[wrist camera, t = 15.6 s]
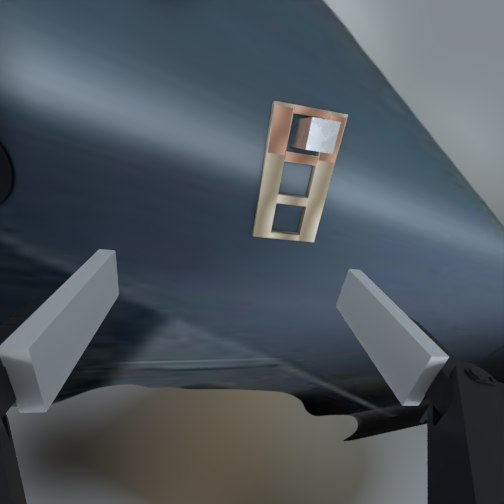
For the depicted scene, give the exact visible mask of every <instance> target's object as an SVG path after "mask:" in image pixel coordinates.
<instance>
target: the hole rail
mask: <svg viewBox="0 0 504 504" xmlns="http://www.w3.org/2000/svg"><path fill="white" fill-rule="evenodd" d="M293 114H296V115H302V116H307V117H316V118H321V119H327V120H332V121H338V122H341V124H340V128H339V132H338V135H337V139H336V143H335V147H334V151H333V154H329V153H323V152H317V151H316V154H315V156H314V155H308V154H302V153H295V152H289V151H286V149H287V144H288V139H289V134H290V128H291V123H292V118H293ZM347 117H348V115H347V114H342V113H336V112H331V111H326V110H320V109H315V108H310V107H305V106H299V105H294V104H289V103H284V102H278V101H273V103H272V109H271V116H270V122H269V129H268V135H267V141H266V148H265V154H264V160H263V167H262V173H261V179H260V186H259V192H258V199H257V205H256V211H255V218H254V224H253V230H252V235H253V236H255V237H265V238H275V239H286V240H296V241H306V242H314V240H315V236H316V232H317V229H318V225H319V221H320V218H321V214H322V210H323V206H324V203H325V199H326V195H327V191H328V188H329V184H330V180H331V176H332V173H333V169H334V165H335V162H336V158H337V154H338V150H339V147H340V143H341V139H342V135H343V132H344V128H345V124H346V120H347ZM284 161H288V162H294V163H301V164H308V165H313V167H312V171H311V175H310V180H309V184H308V188H307V192H306V196H299V195H291V194H283V193H278V192H279V186H280V181H281V176H282V171H283V165H284ZM276 203H280V204H289V205H297V206H303V209H302V214H301V218H300V222H299V226H298V231H297V232H288V231H279V230H271V229H272V223H273V218H274V213H275V208H276Z"/></svg>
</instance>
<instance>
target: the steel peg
mask: <svg viewBox="0 0 504 504" xmlns="http://www.w3.org/2000/svg"><path fill="white" fill-rule="evenodd" d="M340 124H341V122H338V121H332V120H327V119H321V118H316V117H309V118H303V119H297V120H294V124H293V129H292V134H291V139H290V145H289V146H290V147H295V148H300V149H305V150H311V151H317V152H323V153H329V154H333V151H334V147H335V143H336V139H337V135H338V132H339V128H340Z"/></svg>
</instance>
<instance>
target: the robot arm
mask: <svg viewBox="0 0 504 504" xmlns="http://www.w3.org/2000/svg"><path fill="white" fill-rule="evenodd" d="M11 184H12V172H11V167H10V164H9V161H8V158H7V156H6V154H5V152H4V150H3V149H2V147H1V145H0V203H1V202H2V201H3V200H4V199H5V198H6V197H7V195H8V193H9V191H10V188H11ZM118 295H119V290H118V277H117V265H116V253H115V250H104V249H99V250H98V251H97V252H96V253H95V254H94V255H93V256H92V257H91V258H90V259H89V260H88V261H87V262H85V263H84V264H83V265H82V266H81V267H80V268H79V269H78V270H77V271H76V272H75V273H74V274H73V275H72V276H71V277H70V278H69V279H68V280H67V281H66V282H65V283H64V284H63V285H62V286H61V287H60V288H59V289H58V290H57V291H56V292H55V293H54V294H53V295H52V296H50V297H49V298H48V299H36V300H34V301H32V302H30V303H28V304H26V305H24V306H22V307H21V308H20V309H19V310H18V311H16V312H15V313H14V314H13V315H12V316H11V318H9V319H7V320H6V321H5V322H4V323H3V324H2V326H0V504H27V503H26V499H25V494H24V490H23V485H22V480H21V476H20V471H19V467H18V462H17V458H16V453H15V448H14V444H13V439H12V435H11V430H10V426H9V421H8V418H7V415H6V412H7V411H8V410H9V408H10V407H11V406H12V405H13V403H14V402H15V401H16V404H17V407H18V409H19V412H20V413H22V412H23V413H24V412H47V410H48V408H49V407H50V405H51V404H52V402H53V400H54V399H55V397H56V396H57V394H58V392H59V391H60V389H61V388H62V386H63V384H64V383H65V381H66V379H67V378H68V376H69V375H70V373H71V371H72V370H73V368H74V367H75V365H76V363H77V362H78V360H79V358H80V357H81V355H82V354H83V352H84V350H85V349H86V347H87V346H88V344H89V342H90V341H91V339H92V337H93V336H94V334H95V333H96V331H97V329H98V328H99V326H100V325H101V323H102V321H103V320H104V318H105V316H106V315H107V313H108V312H109V310H110V308H111V307H112V305H113V304H114V302H115V300H116V299H117V297H118ZM336 307H337V309H338V310H339V312H340V313H341V315H342V316H343V318H344V319H345V321H346V322H347V324H348V325H349V327H350V328H351V330H352V331H353V333H354V334H355V336H356V337H357V339H358V340H359V342H360V343H361V345H362V346H363V348H364V349H365V351H366V352H367V354H368V355H369V357H370V358H371V360H372V361H373V363H374V364H375V366H376V367H377V369H378V370H379V372H380V373H381V374H382V376H383V377H384V379H385V380H386V382H387V383H388V385H389V386H390V388H391V389H392V391H393V392H394V394H395V395H396V397H397V398H398V400H399V401H400V403H401V404H402V406H414V405H419V404H420V402H421V401H422V399H423V398H424V396H425V395H426V397H427V398H428V399H429V401H430V402H431V404H430V405H429V407H428V408H427V410H426V411H425V413H424V414H423V416H422V417H421V419H420V422H421V423H423V422H424V421H425V420H426V419H428V425H427V426H428V504H504V383H500V382H497V381H496V380H495V379H494V378H493V377H492V376H491V375H490V374H488V373H487V372H485V371H484V370H483V369H481V368H479V367H477V366H475V365H473V364H470V363H467V362H459V361H458V360H457V359H456V358H455V357H454V356H453V355H452V354H451V353H450V352H449V351H448V350H447V349H446V348H444V347H443V346H442V345H441V344H440V343H439V342H438V341H437V340H436V339H434V337H433V336H432V335H431V334H430V333H429V332H427V330H426V329H425V328H424V327H423V326H421V325H420V324H419V323H418V322H417V321H415V320H413V319H412V318H410V317H409V316H407V315H406V314H405V313H404V312H403V311H402V310H401V309H400V308H399V307H398V306H397V305H396V304H395V303H394V302H393V301H392V300H391V299H390V298H388V297H387V296H386V295H385V294H384V293H383V292H382V291H381V290H380V289H379V288H378V287H377V286H376V285H375V284H374V283H373V282H372V281H371V280H370V279H369V278H368V277H367V276H366V275H365V274H364V273H363V272H362V271H361V270H354V269H349V270H348V273H347V276H346V279H345V281H344V284H343V287H342V290H341V293H340V296H339V299H338V302H337V305H336Z"/></svg>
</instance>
